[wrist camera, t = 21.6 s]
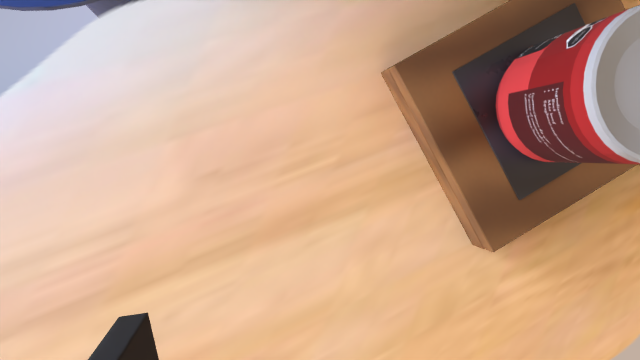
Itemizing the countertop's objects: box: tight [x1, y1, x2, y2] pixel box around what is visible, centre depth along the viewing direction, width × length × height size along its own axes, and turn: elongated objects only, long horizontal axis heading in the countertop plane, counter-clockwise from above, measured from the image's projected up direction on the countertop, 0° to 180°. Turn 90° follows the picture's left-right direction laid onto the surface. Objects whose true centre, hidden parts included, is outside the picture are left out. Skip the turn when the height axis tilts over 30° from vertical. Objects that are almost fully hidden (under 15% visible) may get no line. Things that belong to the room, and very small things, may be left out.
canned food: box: [496, 5, 640, 164], centre depth 34 cm, size 8×8×11 cm
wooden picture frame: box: [381, 0, 638, 252], centre depth 41 cm, size 14×16×4 cm
